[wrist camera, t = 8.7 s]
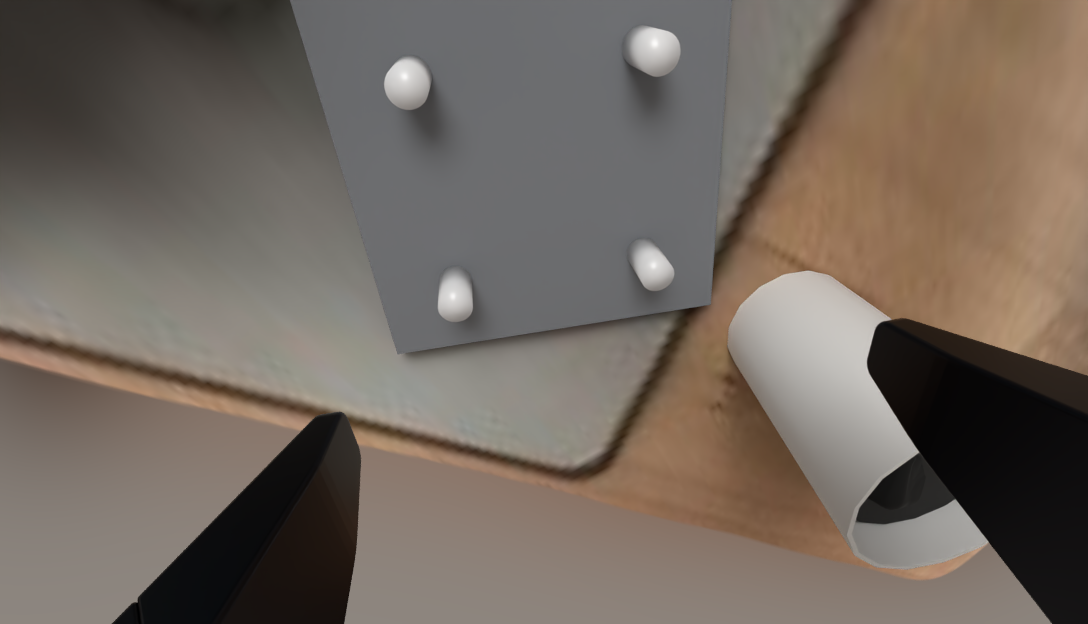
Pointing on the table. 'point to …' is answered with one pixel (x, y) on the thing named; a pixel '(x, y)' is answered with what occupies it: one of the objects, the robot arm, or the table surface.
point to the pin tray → (525, 156)
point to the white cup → (845, 421)
